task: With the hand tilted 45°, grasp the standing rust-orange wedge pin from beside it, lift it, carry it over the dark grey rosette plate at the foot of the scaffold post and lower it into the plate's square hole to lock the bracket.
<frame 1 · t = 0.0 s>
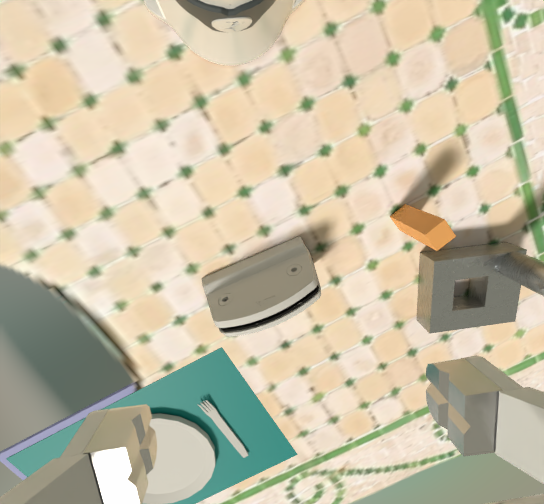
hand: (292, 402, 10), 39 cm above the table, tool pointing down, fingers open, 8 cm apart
wedge pin: (402, 217, 49), on the table
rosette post: (454, 282, 54), on the table
hinge: (260, 278, 51), on the table
place mat: (160, 451, 61), on the table
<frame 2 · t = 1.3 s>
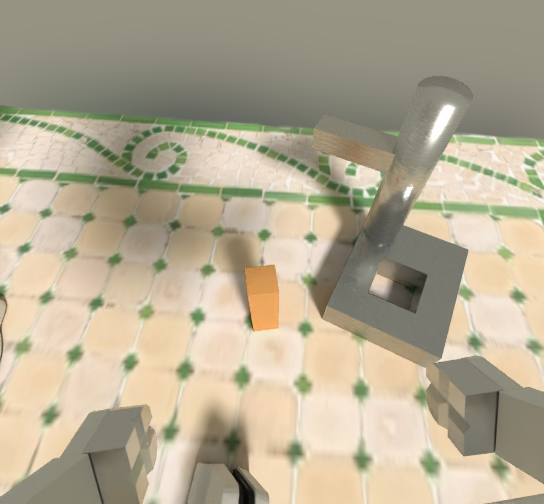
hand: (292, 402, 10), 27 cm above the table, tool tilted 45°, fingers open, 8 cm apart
wedge pin: (264, 318, 39), on the table
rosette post: (387, 298, 40), on the table
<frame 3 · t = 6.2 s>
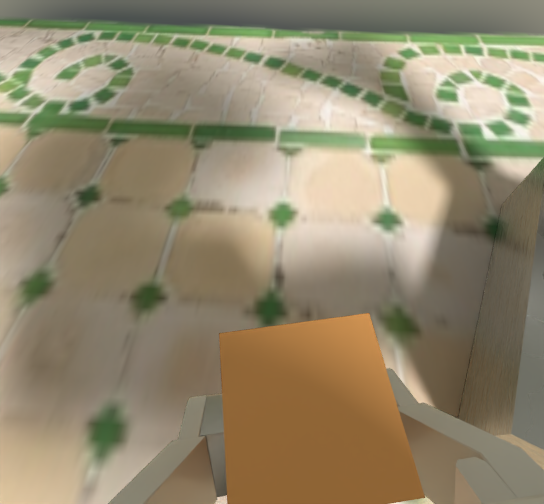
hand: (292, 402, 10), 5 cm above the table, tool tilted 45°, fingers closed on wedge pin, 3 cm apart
wedge pin: (291, 437, 14), on the table, touching gripper
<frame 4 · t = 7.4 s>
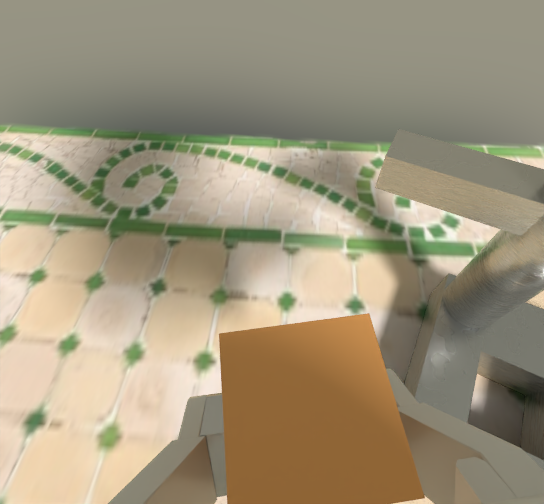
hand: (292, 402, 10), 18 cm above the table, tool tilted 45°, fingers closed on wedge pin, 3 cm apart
wedge pin: (291, 437, 14), point 13 cm above the table, touching gripper
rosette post: (485, 411, 25), on the table
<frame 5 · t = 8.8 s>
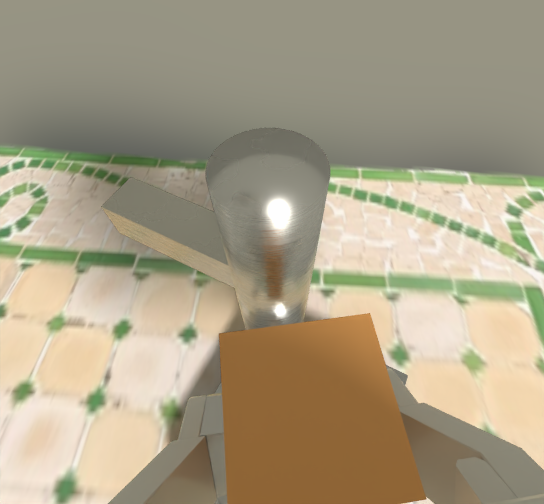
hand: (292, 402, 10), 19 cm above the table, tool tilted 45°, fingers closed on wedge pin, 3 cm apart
wedge pin: (291, 437, 14), point 14 cm above the table, touching gripper
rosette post: (285, 445, 26), on the table
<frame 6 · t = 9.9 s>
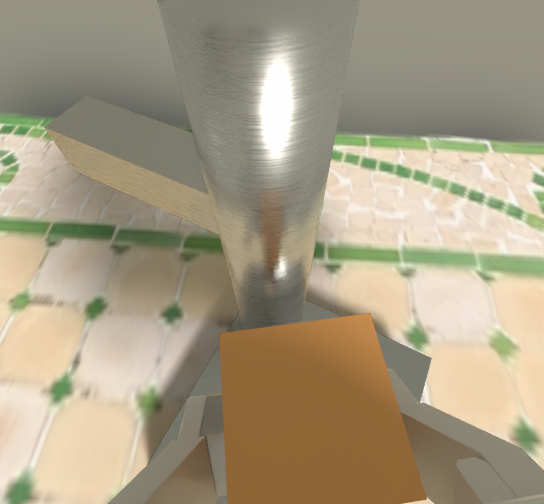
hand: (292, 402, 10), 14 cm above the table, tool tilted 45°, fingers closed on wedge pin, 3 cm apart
wedge pin: (291, 437, 14), point 9 cm above the table, touching gripper
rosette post: (284, 442, 22), on the table
when the fingers open (8 cm above the table, at t = 11.5 s): wedge pin drops 3 cm, resting in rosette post.
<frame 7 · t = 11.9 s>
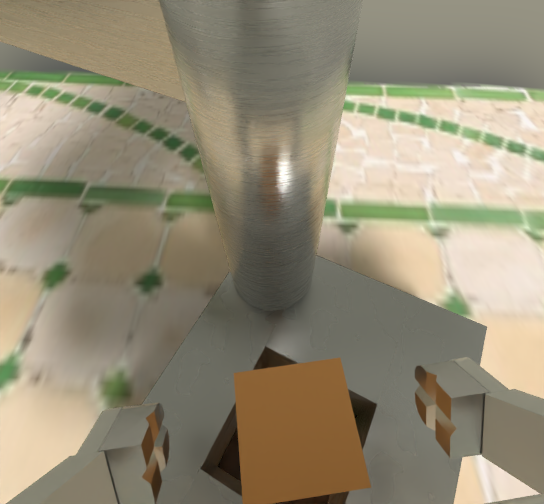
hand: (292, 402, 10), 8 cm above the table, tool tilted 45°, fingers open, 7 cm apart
wedge pin: (290, 440, 16), resting in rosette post
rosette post: (289, 439, 16), on the table
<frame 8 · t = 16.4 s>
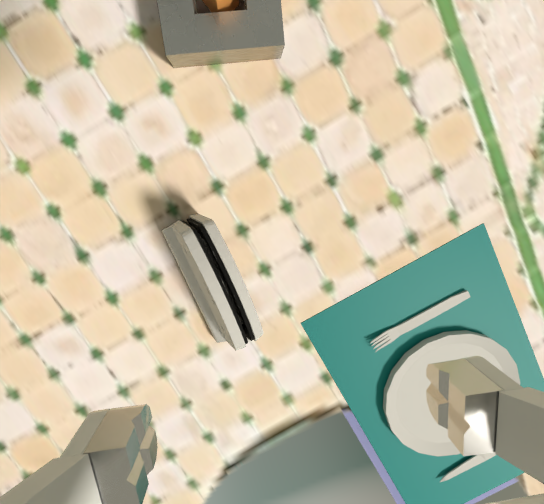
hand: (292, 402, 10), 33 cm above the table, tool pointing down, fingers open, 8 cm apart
wedge pin: (220, 2, 36), resting in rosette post
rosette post: (220, 2, 36), on the table
hinge: (216, 274, 43), on the table
place mat: (443, 387, 51), on the table
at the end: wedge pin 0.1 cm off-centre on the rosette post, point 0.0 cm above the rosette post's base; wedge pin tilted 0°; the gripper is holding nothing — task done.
